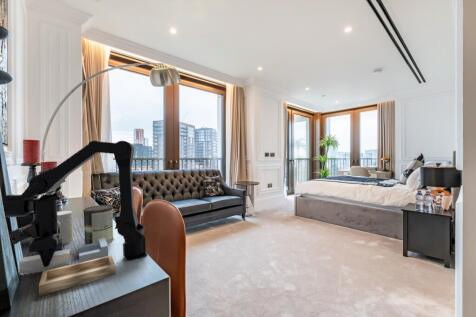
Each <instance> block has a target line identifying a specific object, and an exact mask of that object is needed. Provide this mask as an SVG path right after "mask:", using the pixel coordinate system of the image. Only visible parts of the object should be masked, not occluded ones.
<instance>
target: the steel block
mask: <svg viewBox="0 0 476 317" xmlns="http://www.w3.org/2000/svg"><path fill="white" fill-rule="evenodd" d="M71 263H72V249H71V248H68V249H62V250H61V251H56V252H54V254H53V257H52V259H51V262H50V264H49V266H47V267H44V265H43V263H42V260H41V257H40V255H39V254H35V255H30V256H25V257H22V259H21V260H19V263H18V264H19V266H18V269H19V271H20V273H23V274H25V273H32V274H35V272H36V273H41V272H43V271H47V270H51V269H56V268H60V267H64V266H68V265H71ZM20 273H19V274H20Z"/></svg>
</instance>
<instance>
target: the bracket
mask: <svg viewBox="0 0 476 317" xmlns="http://www.w3.org/2000/svg"><path fill="white" fill-rule="evenodd" d="M98 240H99V242H97V243H92V244H87V245H85V244H83V245H78V257H79V259H78V260H79V262H78V263H81V262H85V261H89V260H93V259H98V258H102V257H106V256H109V244H108V243H107V242H106V239H105V237H104V238H99V239H98Z"/></svg>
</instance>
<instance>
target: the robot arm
mask: <svg viewBox="0 0 476 317" xmlns="http://www.w3.org/2000/svg"><path fill="white" fill-rule="evenodd" d="M101 153H102V154H112V155H113V156H114V160H115V163H116V166H117V169H118V181H119V182H118V183H119V185H118V186H119V200H120V202H119V203H120V212H118V213H117V214H116V215H115V216H114V220H115V221H114V222H115V228H114V229H115V230H117V233H118V235H120V236H121V237H123V240H124V242H123V243H122V255H123V256H122V257H124V258H125V259H126V261H131V260H135V259H139V258H143V257H147V256H148V252H147V250H146V246H147V245H146V235H145V234H144V233H145V229H146V228H145V226H144V225H142V224H141V223H140V222H139V218H138V216H137V212H136V209H135V204H134V192H133V191H134V190H133V189H134V188H133V174H132V173H133V172H132V171H133V170H132V167H133V161H134V157H135V147H134V145H133V144H132V143H130V142H128V141H126V140H118V141H117V142H109V141H98V140H91V141H90V142H88V144H86V145H85V146H84V147H82V148H81V149H79V150H78V151H77V152H75V153H74V154H72V155H71V156H70V157H68V158H67V159H65V160H64V161H62V162H61V163H59V164H58V165H57V166H55V167H53V168H50V169H48V170H45V171H43V172H41V173H39V174H37V175H34V176H33V177H32V178H31V179H29V181H28V187H27V188H25V190H24V191H23V192H22V194H6V195H3V196H4V202H3V205H4V211H5V215H6V217H8V218H19V217H28V216H29V215H30V214H31V213H33V219H32V220H31V222H30V223H29V224H27V225H25V226H22V227H20V228H19V227H18V228H16V229H14V230H11V231H10V232H11V234H10V239H11V241H12V243H13V245H12V246H14V245H17V244H19V242H22V241H24V240H26V239H29V238H31V239H32V240H31V241H30V242H29V243H28V253H34V252H37V253H38V255H40V257H41V260H42V263H43V265H44V267H47V266H49V264H50V262H51V259H52V257H53V254H54V252H55V250H56V247H57V245H58V239H59V235H57V236H54V234H57V233H58V234H59V233H60V226H59V225H58V224H57V219H58V215H57V212H58V201H60V200H62V199H65V195H64V194H62V193H60V192H59V191H56V190H57V189H58V188H59V187H60V186H61V185H62V184H63V183H64V182H65V180H66V179H67V178H68V177H69V175H71V174H72V173H73V172H75V171H77V169H78V170H79V168H81V167H82V166H83V165H85V164H86V163H87V162H89V161H91V160H92V159H93V158H94V157H95V156H97V155H98V154H101ZM54 191H55V192H54ZM50 192H54V193H53V194H51V193H50ZM47 193H50V194H47ZM39 196H40V197H39ZM35 197H36V198H35ZM12 243H11V244H12Z"/></svg>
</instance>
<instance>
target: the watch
mask: <svg viewBox="0 0 476 317" xmlns="http://www.w3.org/2000/svg"><path fill="white" fill-rule="evenodd" d="M57 224H58V225H59V226H61V224H60V222H58V221H57ZM54 236H57V234H54ZM62 250H63V245H62V239H59V240H58V245H57V247H56V250H55V252H57V251H62Z"/></svg>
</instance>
